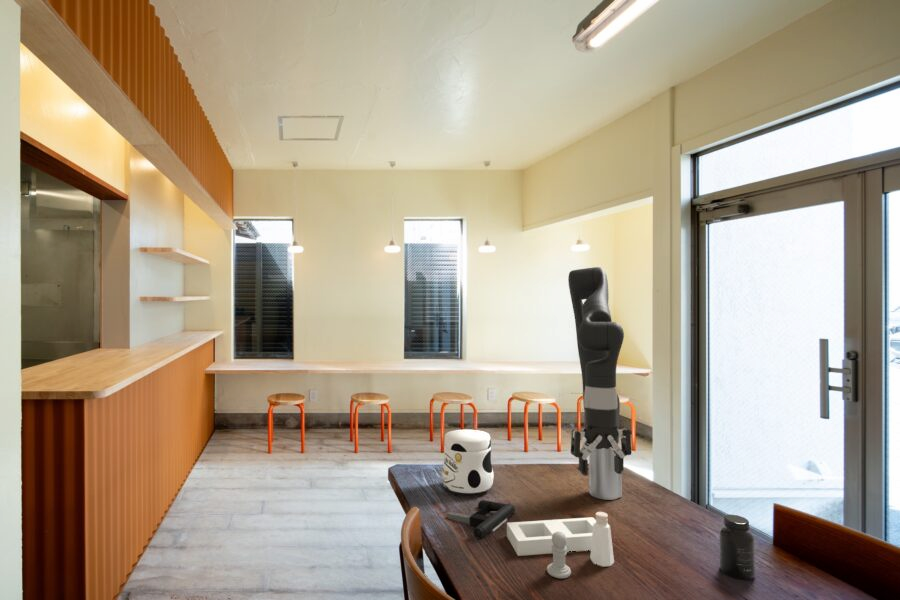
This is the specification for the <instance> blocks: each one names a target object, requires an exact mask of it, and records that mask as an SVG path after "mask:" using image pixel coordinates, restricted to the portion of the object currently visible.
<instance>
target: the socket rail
mask: <svg viewBox="0 0 900 600" xmlns="http://www.w3.org/2000/svg"><path fill="white" fill-rule="evenodd" d="M595 522H596V518H594V517H591V516H590V517H576V518H575V517H574V518H561V519H560V518H559V519H558V518H557V519H544V520H531V521H530V520H527V521H514V522H513V521H512V522H506V538H507V539H508V541H509V543H510V545H511V546H512V547H513V549H514V551H515V553H516V555H517V556H518V557H519V556H520V557H521V556H535V555H546V554H553V553H552V545H553V543H552V535H553V534H554V533H555V532H562V533H563V534H564V535H565V536H566V539H567V543H566V545H565V546H566V548H567V550H566V552H567V553H573V552H572V551H576V552H589V551H591V544H592V534H593V525H594V523H595ZM588 550H589V551H588ZM569 551H571V552H569Z"/></svg>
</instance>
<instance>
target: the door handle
mask: <svg viewBox="0 0 900 600" xmlns="http://www.w3.org/2000/svg"><path fill="white" fill-rule="evenodd" d="M477 507H478V509H479V510H478V511H476V512H475V513H473V514H472V515H468V514H464V513H459V512H455V511H449V512H447V514H446V518H447V519H449V520H451V521H452V520H453V521H456V522H460V523H462V524H466V525H469V526H470V527H473V528H474V530H473V534H474V537H476V538H477V539H481V538H484V537H486V536H487V535H488V534H490V533H491V532H495V531H496V530H497V529H498V528H500V527H501V526H502V525H503V524H505V523H507V521H508V518H509V517H511V515H513V514H514V515H515V514H516V513H514V512H515V506H514V504H512V503H509V502H508V503H506V504H505V503H501V502H496V501H490V500H486V499H485V500H484V499H482V500H480V501H478V503H477ZM488 514H490V516H489V515H488Z"/></svg>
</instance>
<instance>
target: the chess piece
mask: <svg viewBox="0 0 900 600" xmlns="http://www.w3.org/2000/svg"><path fill="white" fill-rule="evenodd" d="M552 543H553V545H552V553H551V554H552V559H553V560H552V562H551V563H550V564H548V565H547V567H546V571H547V573H548V575H550V577H552V578H555V579H563V580H564V579H567V578H569V577H571V575H572V571H571V567H569V566H568V565H567V564H566V556H567V553H568V552H566V550H567V548H566V546H565V545H566V543H567V539H566V536H565V535H564V534H563V533H562V532H555V533H554V534H553V535H552Z"/></svg>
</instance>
